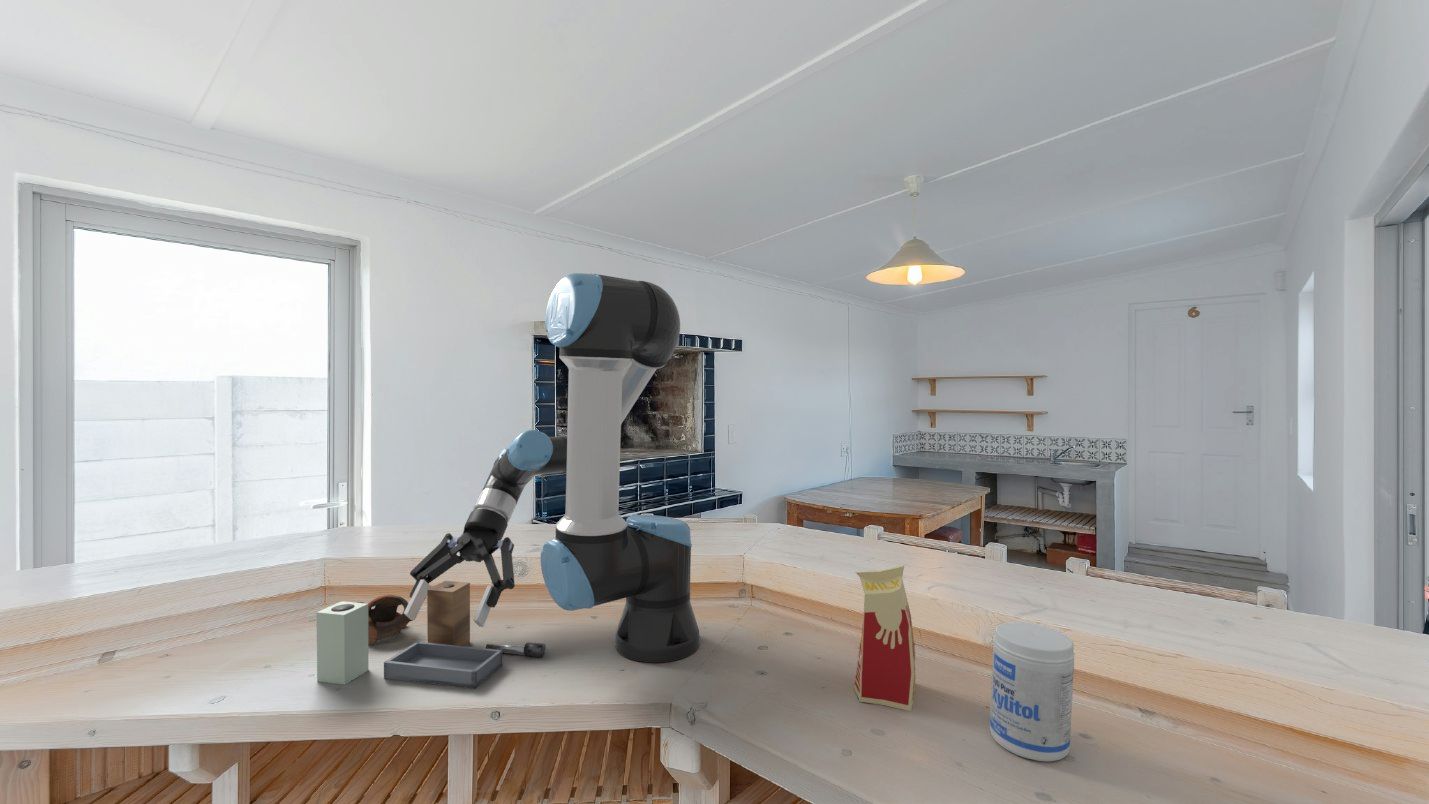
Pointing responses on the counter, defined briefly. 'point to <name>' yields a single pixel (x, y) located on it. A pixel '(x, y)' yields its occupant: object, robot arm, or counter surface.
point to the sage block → (342, 642)
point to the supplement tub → (1032, 690)
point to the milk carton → (886, 642)
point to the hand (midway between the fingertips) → (443, 620)
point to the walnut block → (449, 613)
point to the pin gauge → (520, 649)
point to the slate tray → (444, 664)
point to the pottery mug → (385, 617)
